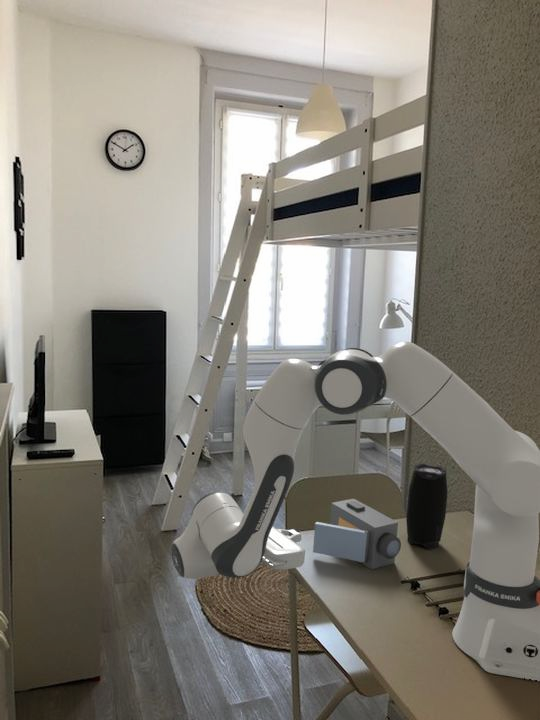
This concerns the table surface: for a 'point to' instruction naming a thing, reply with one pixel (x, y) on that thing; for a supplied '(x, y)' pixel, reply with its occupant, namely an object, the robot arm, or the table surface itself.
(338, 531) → the side panel
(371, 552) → the camcorder body
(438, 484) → the portable speaker
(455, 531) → the table surface
